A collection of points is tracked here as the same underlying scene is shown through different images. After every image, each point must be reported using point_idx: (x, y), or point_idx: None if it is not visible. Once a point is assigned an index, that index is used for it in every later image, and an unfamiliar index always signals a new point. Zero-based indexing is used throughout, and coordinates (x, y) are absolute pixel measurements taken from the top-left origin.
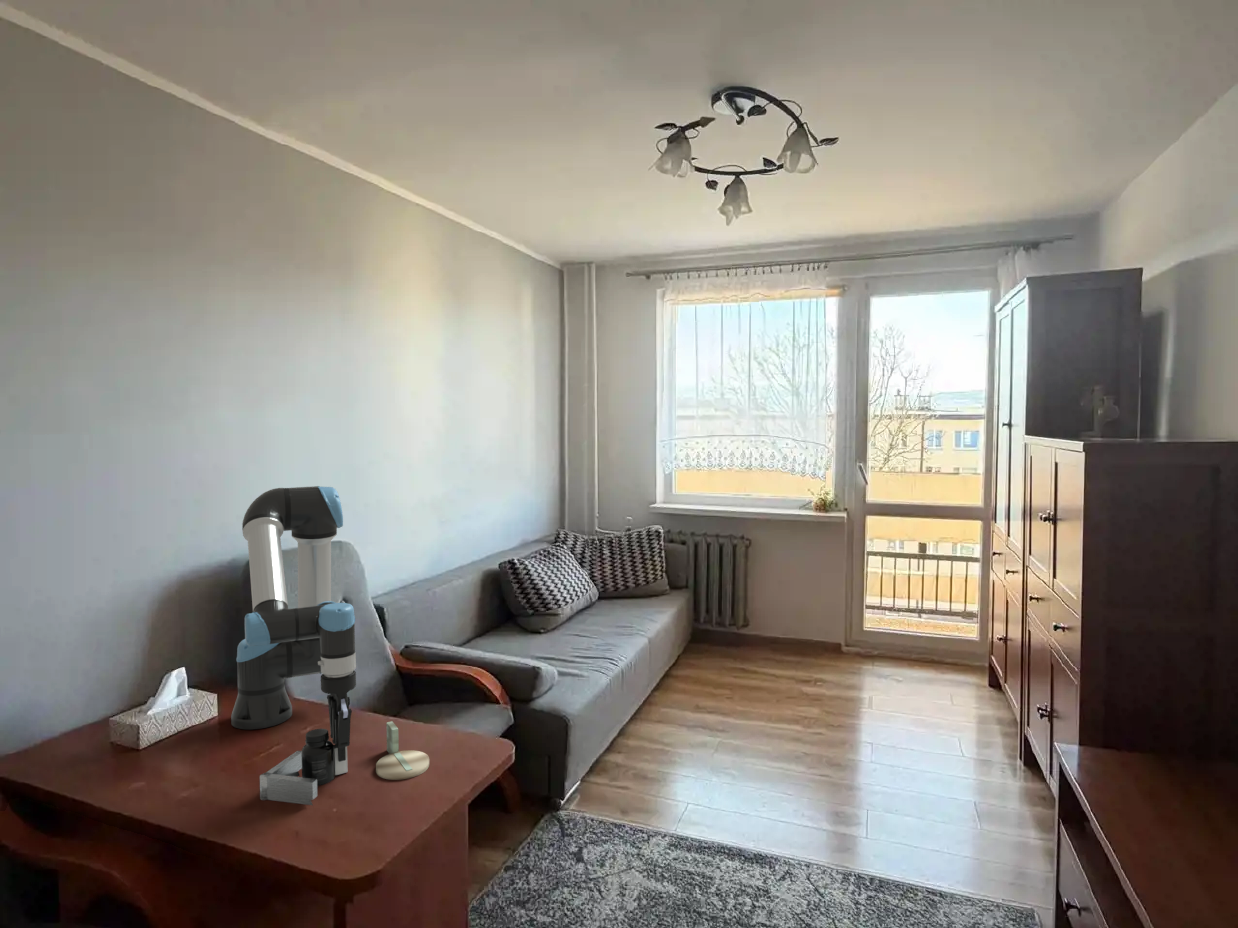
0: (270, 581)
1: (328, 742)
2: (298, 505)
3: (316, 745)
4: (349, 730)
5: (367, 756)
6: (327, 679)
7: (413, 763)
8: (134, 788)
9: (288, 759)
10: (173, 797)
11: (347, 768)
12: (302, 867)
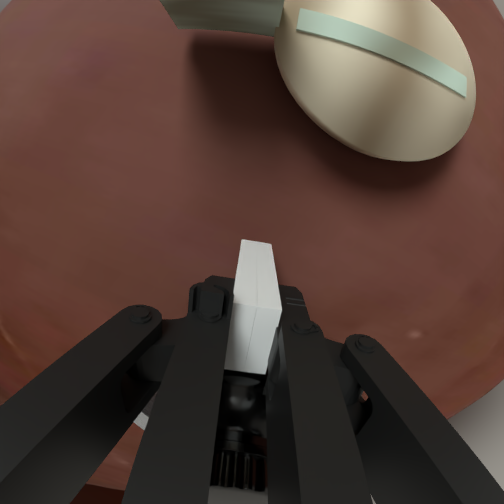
0: None
1: (260, 429)
2: None
3: None
4: (452, 432)
5: (136, 101)
6: None
7: (426, 39)
8: None
9: (139, 418)
10: (128, 469)
11: (271, 249)
12: (480, 397)
